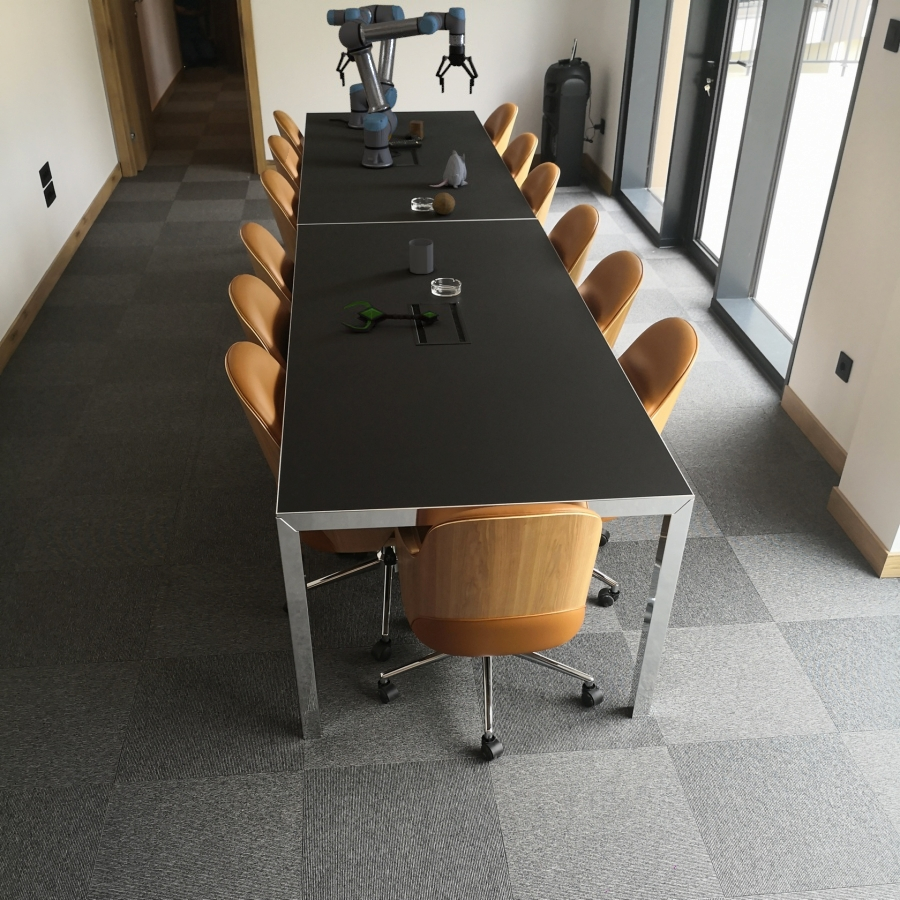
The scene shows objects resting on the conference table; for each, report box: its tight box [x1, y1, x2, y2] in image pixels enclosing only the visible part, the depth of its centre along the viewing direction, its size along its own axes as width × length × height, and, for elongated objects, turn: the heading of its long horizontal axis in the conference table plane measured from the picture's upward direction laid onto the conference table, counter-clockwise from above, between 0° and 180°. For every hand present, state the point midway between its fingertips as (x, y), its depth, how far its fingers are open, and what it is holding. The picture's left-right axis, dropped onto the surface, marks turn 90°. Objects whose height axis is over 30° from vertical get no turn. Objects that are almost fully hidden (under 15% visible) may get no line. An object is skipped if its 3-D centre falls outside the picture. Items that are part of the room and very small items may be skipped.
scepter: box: [341, 300, 440, 333], centre depth 268 cm, size 6×13×30 cm
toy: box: [428, 149, 468, 189], centre depth 390 cm, size 9×24×15 cm, turn 137°
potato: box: [431, 192, 456, 216], centre depth 360 cm, size 10×14×8 cm
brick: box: [409, 119, 424, 141], centre depth 472 cm, size 6×7×9 cm
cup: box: [408, 237, 434, 275], centre depth 305 cm, size 8×8×10 cm
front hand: (456, 93), depth 415 cm, fingers open, 13 cm apart
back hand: (356, 86), depth 454 cm, fingers open, 13 cm apart
